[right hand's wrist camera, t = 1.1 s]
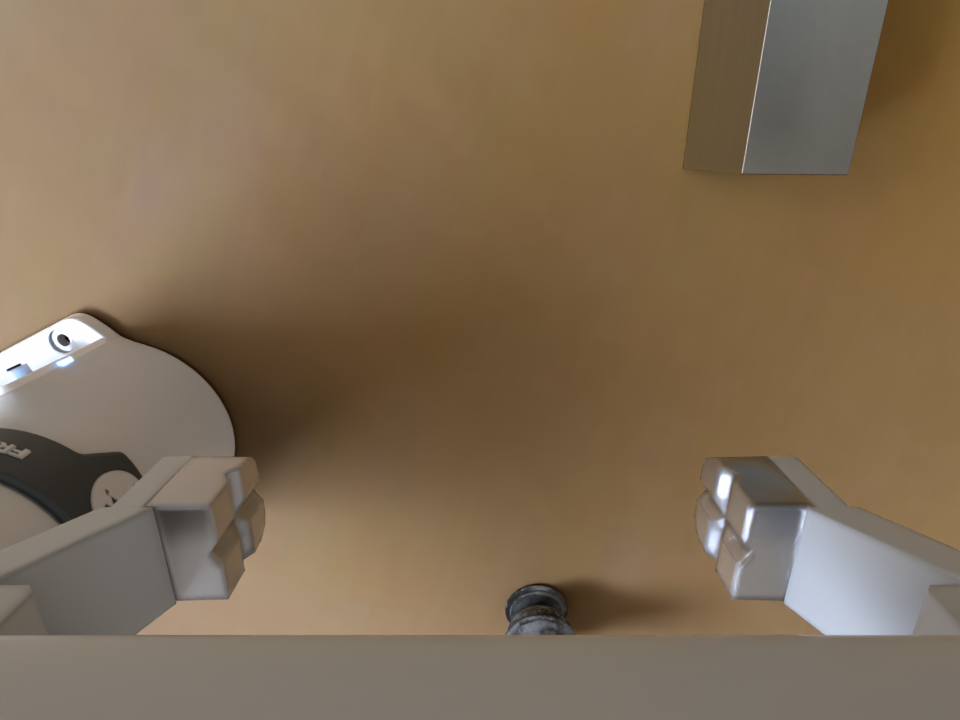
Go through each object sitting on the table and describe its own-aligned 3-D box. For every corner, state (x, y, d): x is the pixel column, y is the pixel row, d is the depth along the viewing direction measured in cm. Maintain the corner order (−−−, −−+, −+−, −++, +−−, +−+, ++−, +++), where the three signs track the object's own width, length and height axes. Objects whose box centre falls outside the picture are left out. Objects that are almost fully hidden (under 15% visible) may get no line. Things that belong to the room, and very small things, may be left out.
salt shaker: (518, 573, 46) (529, 711, 34) (582, 594, 46) (614, 736, 35) (491, 624, 47) (494, 770, 36) (553, 643, 48) (575, 792, 37)
